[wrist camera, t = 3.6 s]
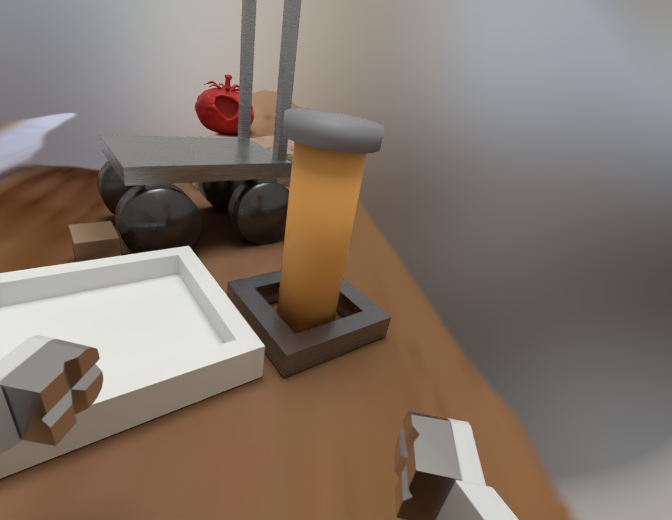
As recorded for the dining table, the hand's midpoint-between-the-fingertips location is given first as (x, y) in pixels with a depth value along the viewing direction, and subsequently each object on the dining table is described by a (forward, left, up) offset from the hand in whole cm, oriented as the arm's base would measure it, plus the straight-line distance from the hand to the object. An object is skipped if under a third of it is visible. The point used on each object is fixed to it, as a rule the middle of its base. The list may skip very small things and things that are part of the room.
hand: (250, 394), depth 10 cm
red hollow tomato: (+25, +62, -7) cm, 67 cm away
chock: (-1, +20, -7) cm, 21 cm away
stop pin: (+8, +9, -7) cm, 14 cm away
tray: (-2, +11, -7) cm, 13 cm away
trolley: (+7, +23, -7) cm, 25 cm away
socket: (+8, +9, -7) cm, 14 cm away
